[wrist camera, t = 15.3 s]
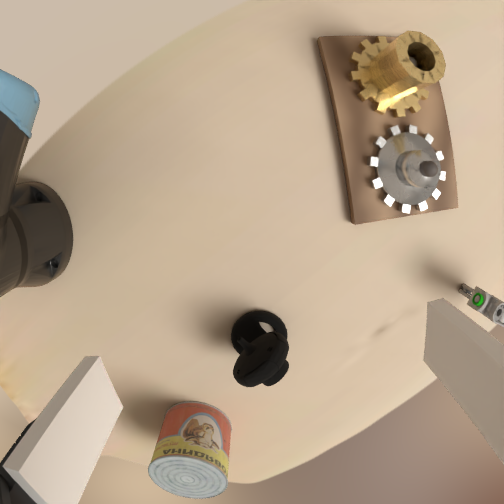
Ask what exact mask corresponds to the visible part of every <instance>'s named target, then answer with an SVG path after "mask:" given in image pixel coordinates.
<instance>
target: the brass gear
mask: <svg viewBox="0 0 504 504" xmlns="http://www.w3.org/2000/svg"><path fill="white" fill-rule="evenodd" d="M375 42H376V43H374V44H371V43H370V42H369V41H368V40H367V39H366V40H364V41H362V42H361V43H360V44H359V45H358V47H359V48H360V49H361V50H362V52H361V53H360V54H358V53H356V52H353V53H352V54H351V56H350V59H349V62H351V63H353V64H355V65H356V66H355V71H351V72H350V73H349V74H348V75H349V79H350V82H358V85H359V87H360V89H361V90H362V91H361V92H360V93H359V94H357V96H358V97H359V98H360V100H361V101H362V102H363V101H365V100H366V99H368V98H369V100H370V101H371V102H372V103H374V104H376V106H375V109H374V112H376V113H378V114H380V115H383V114H385V113H386V110H388V111H389V110H393V115H394V118H402V117H405V116H406V115H405V110H406V109H409V110H410V112H411V113H412V114H413V113H416V112H418V111H419V110H420V109H421V107H420V105H419V104H418V102H417V101H419V100H420V99H422V100H426V99H428V95H429V91H427V90H425V89H424V88H425V87H427V86H430V85H432V84H434V83H436V82H437V81H439V80H440V79H441V78H442V77H443V76H444V72H445V67H446V64H445V60H444V57H443V54H442V51H441V50H440V49H439V47H438V46H437V45H436V43H435V42H434V41H433V40H432V39H431V38H429V37H428V36H426V35H424V34H423V33H421V32H415V31H406V32H405V33H403V34H402V35H400V36H398V37H397V38H396V39H395V40H394V41H393V42H391V43H387V40H386V36H378V37H377V38H376V39H375ZM409 57H412V58H414V59H415V60H416V62H417V67H415V66H414V65H413V63H412V62H411V61H410V59H409Z"/></svg>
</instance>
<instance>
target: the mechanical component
mask: <svg viewBox="0 0 504 504" xmlns="http://www.w3.org/2000/svg"><path fill="white" fill-rule="evenodd" d="M462 286H463V287H464V288H463V289H460V290H459V292H460V293H461V294H462V295H464V296H465V297H467V298H468V299H469V301H468V303H467V305H469V306H470V307H472V308H473V309H474V310H476V311H479V312H480V313H482V314H483V315H484V316H486V317H487V318H489V319H490V320H491V321H493V322H494V323H496V324H500V325H501V326H503V327H504V302H502V301H501V300H499V299H498V298H496V297H494V296H493V295H490V294H488V293H487V292H485V291H483V290H482V289H480V288H478V287H477V286H476V287H475V289H472V288H470V287H469V286H467V285H465V284H462ZM471 292H472V294H470V293H471ZM467 293H468V294H470V295H471V296H470V295H468V294H467Z"/></svg>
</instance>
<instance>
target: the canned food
mask: <svg viewBox="0 0 504 504" xmlns="http://www.w3.org/2000/svg"><path fill="white" fill-rule="evenodd" d="M231 430H232V427H231V422H230V420H229V419H228V417H227V416H226V415H225V414H224V413H223V412H222V411H221V410H219V409H218V408H216V407H214V406H211V405H209V404H206V403H202V402H194V401H189V402H182V403H178V404H176V405H174V406H172V407H171V408H169V409H168V411H167V412H166V414H165V417H164V422H163V425H162V428H161V431H160V435H159V438H158V441H157V444H156V447H155V450H154V454H153V457H152V460H151V463H150V465H149V468H148V473H149V476H150V478H151V479H152V480H153V481H154V483H156V484H157V485H158V486H159V487H161V488H162V489H164V490H166V491H168V492H170V493H172V494H175V495H178V496H182V497H187V498H196V499H198V498H199V499H203V498H210V497H214V496H217V495H219V494H221V493H222V492H224V491H225V490H226V488H227V485H228V480H227V478H228V464H229V450H230V436H231Z"/></svg>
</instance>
